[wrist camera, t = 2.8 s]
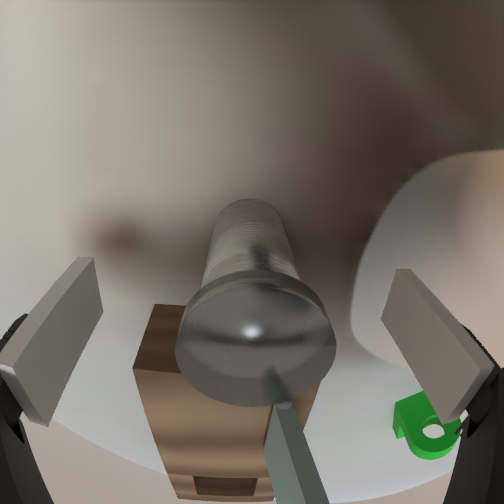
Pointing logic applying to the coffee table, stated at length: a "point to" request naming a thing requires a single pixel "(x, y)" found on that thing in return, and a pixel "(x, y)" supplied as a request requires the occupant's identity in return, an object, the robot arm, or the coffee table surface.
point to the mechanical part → (418, 417)
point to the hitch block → (202, 424)
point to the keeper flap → (291, 460)
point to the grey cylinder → (253, 316)
